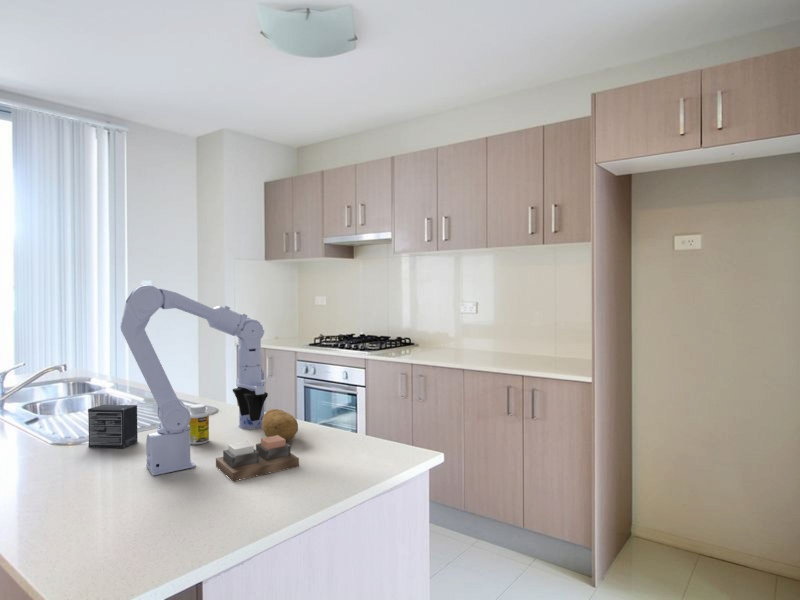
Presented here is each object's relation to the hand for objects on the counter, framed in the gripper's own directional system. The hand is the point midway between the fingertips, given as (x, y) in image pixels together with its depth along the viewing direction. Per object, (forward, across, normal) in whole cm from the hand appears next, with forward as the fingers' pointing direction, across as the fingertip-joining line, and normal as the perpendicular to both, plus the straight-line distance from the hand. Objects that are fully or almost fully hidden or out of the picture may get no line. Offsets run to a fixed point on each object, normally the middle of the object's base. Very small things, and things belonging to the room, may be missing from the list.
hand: (250, 417), depth 130 cm
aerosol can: (+10, +25, -10) cm, 29 cm away
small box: (+10, +30, +27) cm, 42 cm away
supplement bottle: (+10, +18, +8) cm, 22 cm away
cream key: (+5, -10, +6) cm, 13 cm away
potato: (+10, +6, -11) cm, 16 cm away
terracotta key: (+6, -10, -2) cm, 12 cm away
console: (+9, -10, +2) cm, 14 cm away
